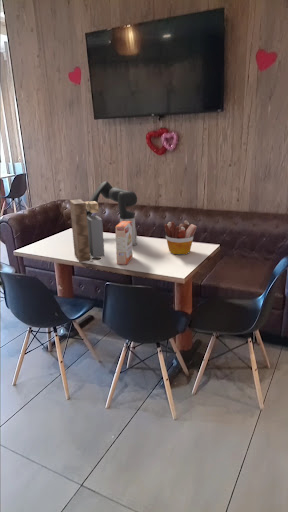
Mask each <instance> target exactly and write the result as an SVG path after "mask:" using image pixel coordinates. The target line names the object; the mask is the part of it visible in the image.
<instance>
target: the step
mask: <svg viewBox="0 0 288 512" xmlns="http://www.w3.org/2000/svg"><path fill="white" fill-rule="evenodd" d="M87 226H88V238H89V251H90V256H91V257H92V258H93V259H94V258H101V257H102V258H103V257H105V244H104V241H105V240H104V229H103V228H104V227H103V219H102V218H101V217H100V216H98V215H91V216H87Z"/></svg>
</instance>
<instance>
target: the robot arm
mask: <svg viewBox="0 0 288 512" xmlns="http://www.w3.org/2000/svg"><path fill="white" fill-rule="evenodd" d="M100 195H101V196H102V197H103V198H105V199H107V200H110V201H113V202H116V203H117V204H118V214H119V223H120V222H122V221H132V247H133V246H136V245H137V244H138V241H137V239H138V237H137V229H136V222H135V221H136V218H135V217H136V216H135V212H133V211H129V210H127V207H128V208H129V207H130V208H131V207H134V206H136V205H137V204H138V203H137V202H138V196H137V194H136V192H134V191H132V190H126V189H123V188H120V187H116V186H112V185H111V183H110V182H109V181H107V180H105V181H103V182H101V183H100V184H99V185H98V186H97V188H96V190H95V191H94V193H93V195H92V196H91V198H90V199H89V200H88V201H89V202H90V201H95V202H97V203H98V204H99V198H100ZM86 213H87V216H93V214H94V213H91V212H90V211H88V210H87V209H86Z"/></svg>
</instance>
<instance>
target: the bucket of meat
mask: <svg viewBox="0 0 288 512" xmlns="http://www.w3.org/2000/svg"><path fill="white" fill-rule="evenodd" d="M183 222H184V223H179V225H176V224H175V223H176V222H175V221H169V222H168V223H167V224H166V223H165V224H164V225H163V226H164V231H165V234H166V235H165V239H166V243H167V248H168V251H169V252H170V254H172V253H173V254H172V255H175V254H185V255H187V254H186V253H188V252H189V253H191V248H192V245H193V240H194V236H195V233H196V230H197V228H198V227H197V225H195V224H193V223H191V224H190V223H189V221H188V220H184V221H183ZM189 253H188V254H189Z"/></svg>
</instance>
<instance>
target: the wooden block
mask: <svg viewBox="0 0 288 512" xmlns="http://www.w3.org/2000/svg"><path fill="white" fill-rule="evenodd" d="M85 202H86V201H83V199H81V198H79V199H70V200H69V205H70V206H69V207H70V209H69V210H70V218H71V230H72V239H73V250H74V251H73V252H74V256H75V258H76V259H77V261H78V262H79V263H81V262H82V263H83V262H88V261H91V254H90V251H89V238H88V226H87V213H86V203H85Z"/></svg>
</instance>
